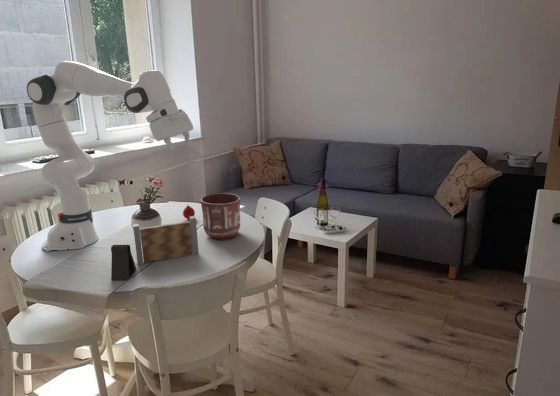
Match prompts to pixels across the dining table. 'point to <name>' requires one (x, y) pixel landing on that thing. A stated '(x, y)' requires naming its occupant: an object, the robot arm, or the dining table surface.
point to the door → (166, 241)
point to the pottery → (221, 215)
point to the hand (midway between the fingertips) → (181, 146)
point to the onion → (188, 212)
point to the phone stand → (122, 262)
